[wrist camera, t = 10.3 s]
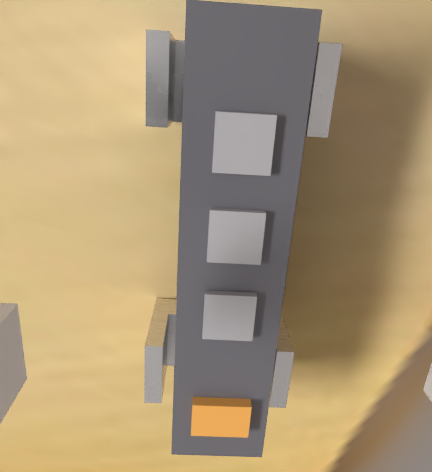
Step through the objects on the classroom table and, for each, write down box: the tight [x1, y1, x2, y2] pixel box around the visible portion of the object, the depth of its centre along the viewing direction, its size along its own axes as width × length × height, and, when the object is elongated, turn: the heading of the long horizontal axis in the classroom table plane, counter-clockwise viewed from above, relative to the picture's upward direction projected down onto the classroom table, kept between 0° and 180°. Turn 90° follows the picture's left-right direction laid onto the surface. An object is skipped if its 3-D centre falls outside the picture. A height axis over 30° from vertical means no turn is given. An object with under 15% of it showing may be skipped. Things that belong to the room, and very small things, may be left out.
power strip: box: [172, 0, 322, 457], centre depth 21 cm, size 22×5×7 cm, turn 176°
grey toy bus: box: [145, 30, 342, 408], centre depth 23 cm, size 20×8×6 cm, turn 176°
